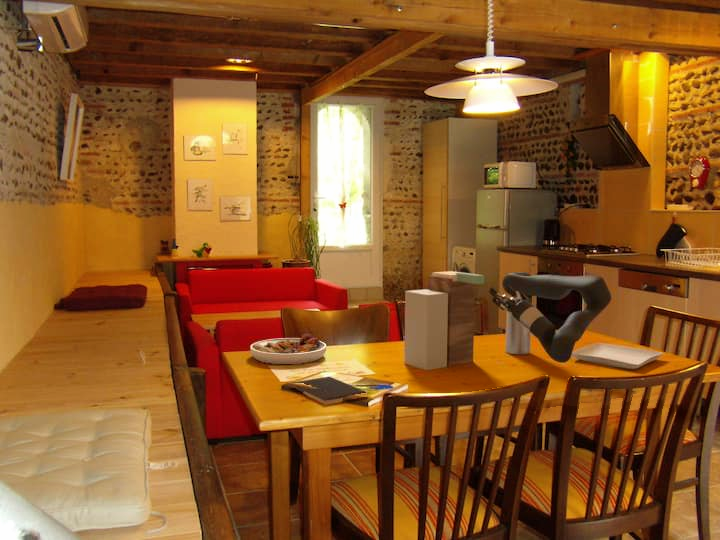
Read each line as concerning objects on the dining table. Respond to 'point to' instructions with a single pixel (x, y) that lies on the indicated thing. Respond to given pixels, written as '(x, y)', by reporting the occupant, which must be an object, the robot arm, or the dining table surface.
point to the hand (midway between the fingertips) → (498, 288)
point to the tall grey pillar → (426, 329)
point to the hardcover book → (328, 390)
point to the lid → (461, 277)
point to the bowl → (288, 350)
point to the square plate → (616, 355)
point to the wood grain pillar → (457, 318)
